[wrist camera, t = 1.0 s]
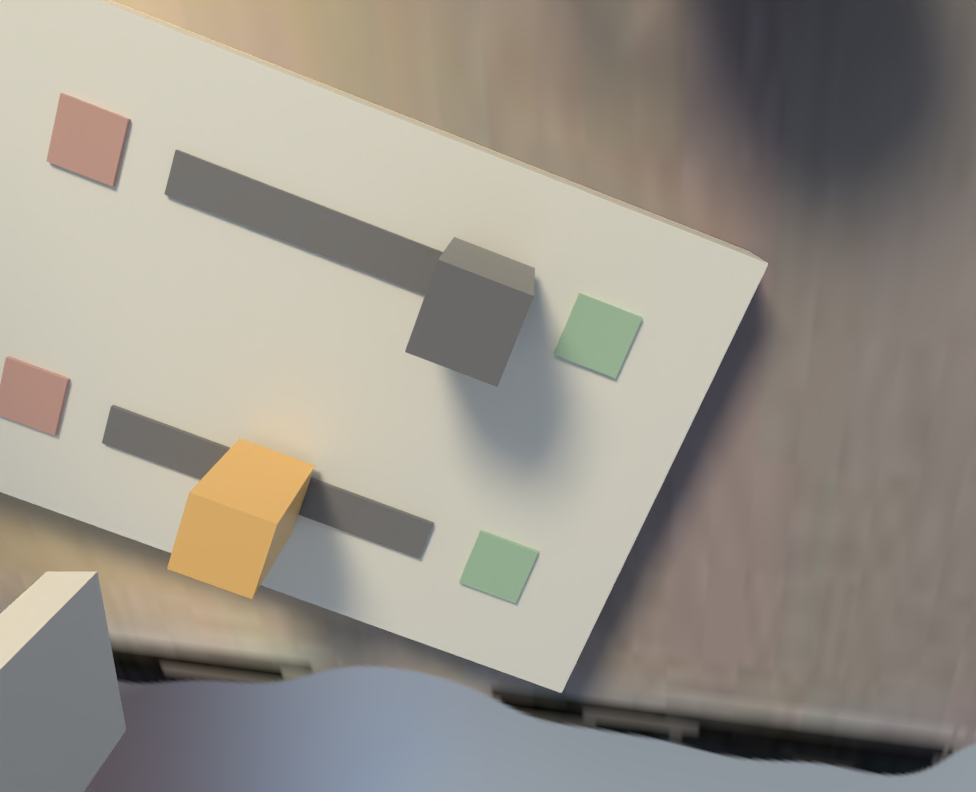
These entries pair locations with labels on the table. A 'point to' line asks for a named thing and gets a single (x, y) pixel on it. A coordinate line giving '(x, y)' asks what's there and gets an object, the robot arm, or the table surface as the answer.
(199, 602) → the table surface
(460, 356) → the block
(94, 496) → the white flat board
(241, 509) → the block
